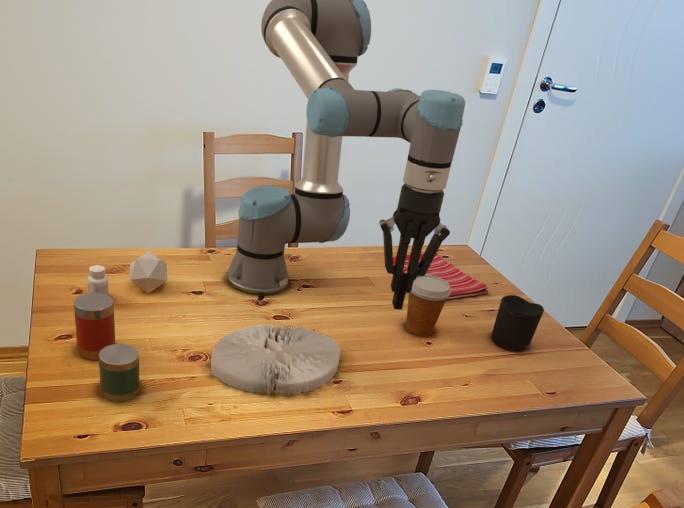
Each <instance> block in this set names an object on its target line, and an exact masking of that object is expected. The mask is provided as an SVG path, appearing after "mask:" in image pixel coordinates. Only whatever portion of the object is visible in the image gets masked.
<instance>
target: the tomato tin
mask: <svg viewBox="0 0 684 508" xmlns="http://www.w3.org/2000/svg"><path fill="white" fill-rule="evenodd" d="M114 307H115V306H114V299H113V297H112V296H110V295H106V294H103V293H88V292H85V293H83V294H80V295H78V296H76V297H75V298H74V300H73V309H74V310H73V311H74V324H75V336H76V345H77V346H76V347H77V353H78V355H79V356H80V357H82V358H84V359H86V360H90V361H91V360H93V361H99V353H100V351H101V350H102V349H103V348H105V347H106V346H109V345H113V344H116V325H115V308H114Z"/></svg>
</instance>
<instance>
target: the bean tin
mask: <svg viewBox="0 0 684 508" xmlns="http://www.w3.org/2000/svg"><path fill="white" fill-rule="evenodd" d="M98 368H99V384H100V385H99V387H100V393H101V395H102V397H103V398H105V400H109V401H112V402H126V401H127V402H128V401H130V400H132V399H134V398H136V397H137V396H138V395H139V393H140V354H139V351H138V349H137V348H136V347H134V346H133V345H130V344H126V343H115V344H113V345H109V346H106V347H105V348H103V349H102V350H101V351H100V353H99V360H98Z"/></svg>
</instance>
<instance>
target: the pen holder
mask: <svg viewBox="0 0 684 508" xmlns="http://www.w3.org/2000/svg"><path fill="white" fill-rule="evenodd" d="M544 311H545V308H544V307H543V305H542V304H540V303H534V302H530V301H529V300H526V299H524V298H523V297H521V296H519V295H514V294H509V295H504V296H503V297H501V299H500V303H499V307H498V310H497V313H496V317H495V321H494V324H493V329H492V332H491V336H490V338H491V341H492V342H493V343H494V344H495V345H496V346H497V347H499V348H500V349H503V350H506V351H509V352H514V353H515V352H517V353H518V352H524V351H526V350H528V349H529V347H530V345H531V342H532V340H533V339H534V336H535V334H536V331H537V328H538V326H539V324H540V321H541V320H542V317H543V315H544Z"/></svg>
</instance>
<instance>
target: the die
mask: <svg viewBox="0 0 684 508" xmlns="http://www.w3.org/2000/svg"><path fill="white" fill-rule="evenodd" d="M129 281H131V282H132V283H133V284H134V285H136V286H137V287H139V288H141V289H142V290H143V291H145V292H146V293H147V294H150V293H152V292H153V291H154V290H156V289H157V288H159V287H160V286H162V285H164V284H165V283H166V282H167V281H168V263H166V262H165V261H163V260H162V259H160V258H159V257H158V256H156V255H155V254H153V253H152V252H151V251H149V250H148V251H147V252H145V253H143V254H142V255H140V256H139V257H137V258H136V259H134V260H133V261H131V262H130V263H129Z"/></svg>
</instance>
